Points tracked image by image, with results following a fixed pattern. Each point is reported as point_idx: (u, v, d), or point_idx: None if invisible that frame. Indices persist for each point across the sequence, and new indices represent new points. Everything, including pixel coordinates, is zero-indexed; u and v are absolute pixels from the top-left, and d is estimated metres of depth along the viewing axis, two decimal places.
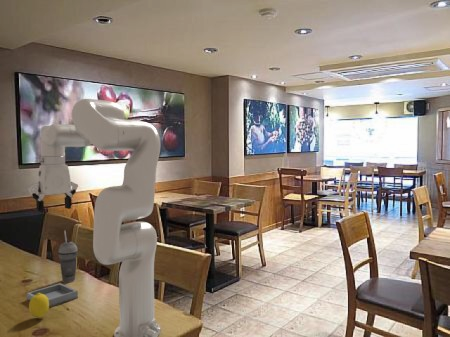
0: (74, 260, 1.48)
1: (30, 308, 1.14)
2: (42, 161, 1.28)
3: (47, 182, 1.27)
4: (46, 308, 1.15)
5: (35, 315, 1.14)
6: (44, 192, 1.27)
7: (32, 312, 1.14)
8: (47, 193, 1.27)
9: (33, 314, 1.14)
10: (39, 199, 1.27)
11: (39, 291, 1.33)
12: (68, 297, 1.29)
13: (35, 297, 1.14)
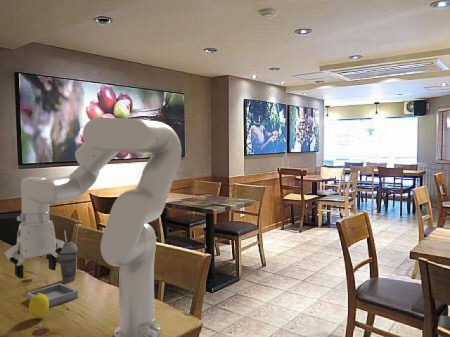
0: (74, 260, 1.48)
1: (30, 308, 1.14)
2: (22, 219, 1.11)
3: (28, 243, 1.10)
4: (46, 308, 1.15)
5: (35, 315, 1.14)
6: (23, 256, 1.10)
7: (32, 312, 1.14)
8: (27, 256, 1.10)
9: (33, 314, 1.14)
10: (18, 264, 1.10)
11: (39, 291, 1.33)
12: (68, 297, 1.29)
13: (35, 297, 1.14)
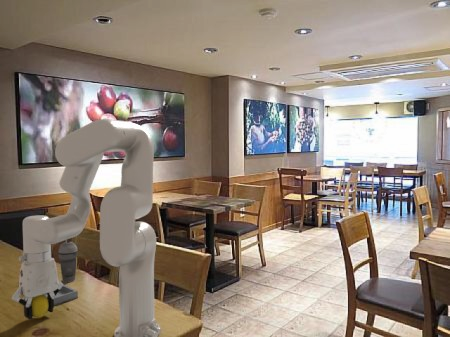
0: (74, 260, 1.48)
1: None
2: (24, 259, 1.11)
3: (30, 283, 1.11)
4: (46, 308, 1.15)
5: (35, 315, 1.14)
6: (26, 296, 1.10)
7: None
8: (30, 296, 1.11)
9: (33, 314, 1.14)
10: (27, 305, 1.12)
11: None
12: (68, 297, 1.29)
13: (35, 297, 1.14)
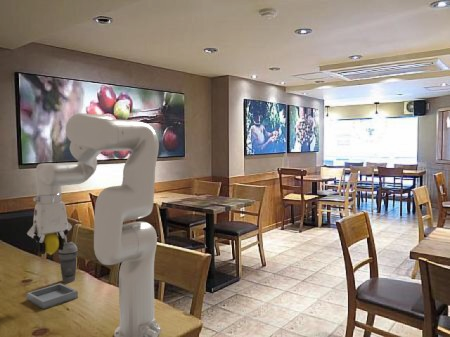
0: (74, 260, 1.48)
1: None
2: (38, 200, 1.26)
3: (44, 221, 1.25)
4: (57, 245, 1.30)
5: (47, 251, 1.28)
6: (40, 232, 1.25)
7: None
8: (43, 233, 1.25)
9: (45, 250, 1.28)
10: (41, 241, 1.26)
11: (39, 291, 1.33)
12: (68, 297, 1.29)
13: (47, 235, 1.29)
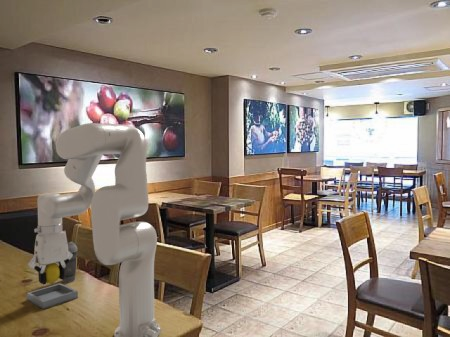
0: (74, 260, 1.48)
1: None
2: (39, 231, 1.26)
3: (44, 252, 1.26)
4: (57, 275, 1.30)
5: (48, 281, 1.29)
6: (41, 263, 1.25)
7: None
8: (44, 263, 1.26)
9: (46, 280, 1.29)
10: (41, 272, 1.27)
11: (39, 291, 1.33)
12: (68, 297, 1.29)
13: (48, 265, 1.29)
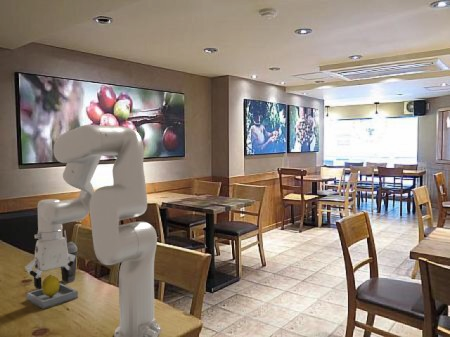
0: (74, 260, 1.48)
1: (43, 287, 1.28)
2: (39, 237, 1.26)
3: (45, 258, 1.26)
4: (57, 288, 1.30)
5: (47, 294, 1.29)
6: (41, 269, 1.25)
7: (44, 291, 1.28)
8: (44, 270, 1.26)
9: (46, 293, 1.28)
10: (37, 276, 1.26)
11: (39, 291, 1.33)
12: (68, 297, 1.29)
13: (47, 278, 1.29)
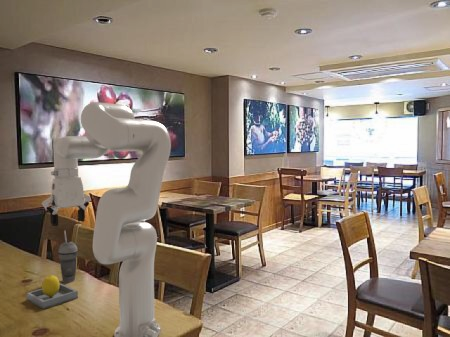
0: (74, 260, 1.48)
1: (43, 287, 1.28)
2: (56, 174, 1.26)
3: (62, 195, 1.26)
4: (57, 288, 1.30)
5: (47, 294, 1.29)
6: (58, 206, 1.25)
7: (44, 291, 1.28)
8: (61, 206, 1.26)
9: (46, 293, 1.29)
10: (53, 213, 1.25)
11: (39, 291, 1.33)
12: (68, 297, 1.29)
13: (47, 278, 1.29)
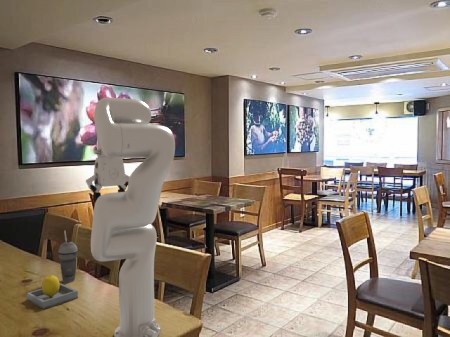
0: (74, 260, 1.48)
1: (43, 287, 1.28)
2: (99, 153, 1.28)
3: (105, 173, 1.28)
4: (57, 288, 1.30)
5: (47, 294, 1.29)
6: (101, 184, 1.27)
7: (44, 291, 1.28)
8: (104, 185, 1.28)
9: (46, 293, 1.29)
10: (97, 191, 1.27)
11: (39, 291, 1.33)
12: (68, 297, 1.29)
13: (47, 278, 1.29)
